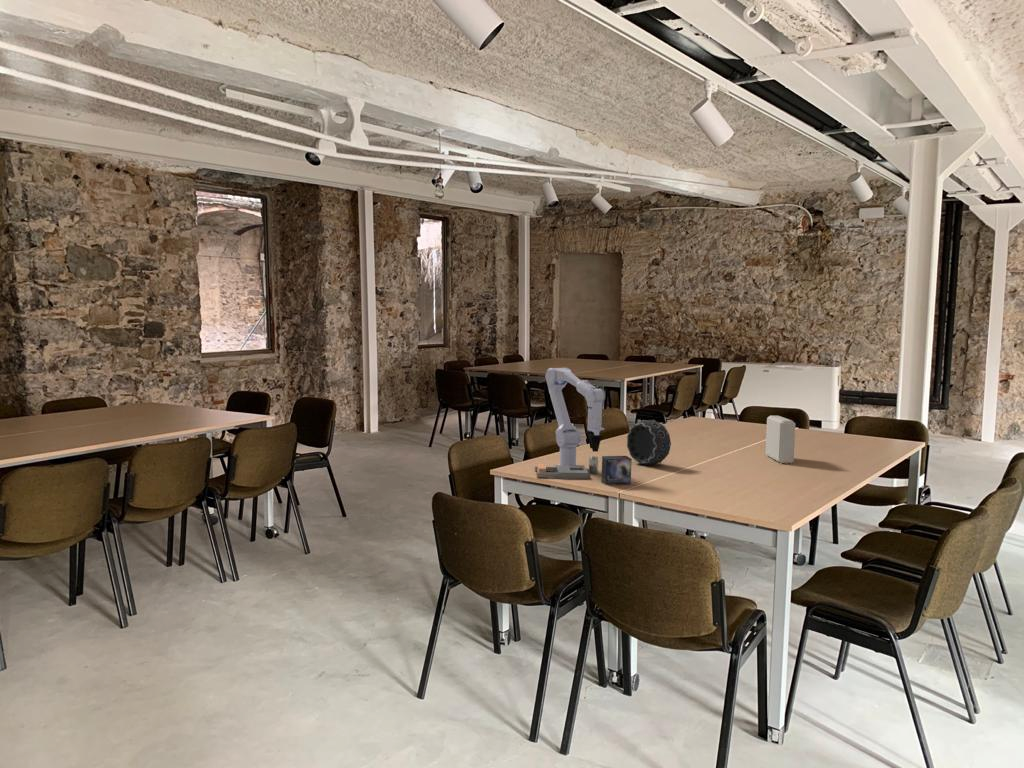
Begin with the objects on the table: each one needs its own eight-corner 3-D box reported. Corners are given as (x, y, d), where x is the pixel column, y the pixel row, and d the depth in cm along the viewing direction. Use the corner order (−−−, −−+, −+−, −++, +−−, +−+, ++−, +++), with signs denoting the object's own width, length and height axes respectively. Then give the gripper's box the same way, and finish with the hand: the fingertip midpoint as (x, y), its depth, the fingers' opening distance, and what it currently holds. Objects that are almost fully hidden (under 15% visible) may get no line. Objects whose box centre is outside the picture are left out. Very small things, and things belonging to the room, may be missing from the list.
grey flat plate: (534, 470, 319) (534, 464, 319) (583, 471, 320) (583, 465, 320) (536, 478, 303) (536, 472, 303) (588, 479, 304) (588, 472, 304)
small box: (605, 485, 293) (606, 458, 292) (600, 481, 299) (601, 455, 299) (631, 484, 295) (632, 458, 294) (625, 481, 301) (626, 455, 301)
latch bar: (537, 472, 316) (537, 463, 316) (544, 472, 316) (544, 463, 316) (538, 476, 306) (538, 468, 306) (546, 477, 306) (546, 468, 306)
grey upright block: (796, 464, 344) (798, 421, 342) (779, 464, 344) (781, 420, 342) (781, 456, 365) (783, 415, 363) (764, 456, 365) (766, 415, 363)
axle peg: (588, 472, 317) (588, 456, 317) (597, 472, 317) (597, 456, 317) (589, 474, 314) (590, 457, 313) (598, 474, 314) (598, 457, 313)
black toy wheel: (640, 459, 349) (641, 417, 347) (672, 467, 333) (674, 422, 331) (623, 462, 343) (624, 418, 341) (655, 469, 326) (657, 423, 325)
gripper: (606, 420, 306) (606, 452, 308) (601, 415, 321) (601, 447, 322) (589, 419, 306) (588, 452, 307) (585, 415, 321) (584, 446, 322)
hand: (594, 449), depth 315 cm, fingers open, 7 cm apart
